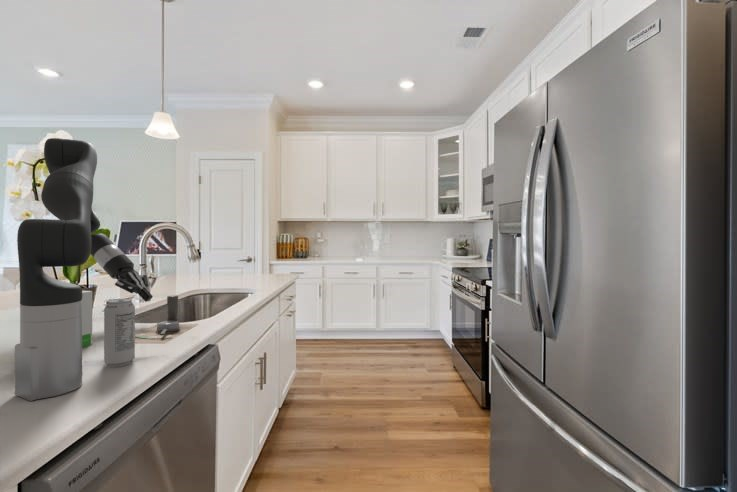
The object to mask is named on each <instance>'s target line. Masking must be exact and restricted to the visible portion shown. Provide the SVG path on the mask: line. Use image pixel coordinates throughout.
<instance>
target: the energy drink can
mask: <svg viewBox="0 0 737 492" xmlns="http://www.w3.org/2000/svg"><path fill="white" fill-rule="evenodd" d="M103 311H104V312H103V315H104V316H103V318H104V319H103V324H104V325H103V326H104V327H103V328H104V329H103V332H104V333H103V334H104V335H103V339H104V340H103V341H104V342H103V362H104V364H106V366H107V367H110V368H117V367H124V366H128V365H130V364H131V363H133V360H134V359H135V357H136V356H135V355H136V354H135V352H136V351H135V350H136V343H135V334H136V326H135V325H136V306H135V305H134V303H133V299H131V298H115V299H110V300H109V299H108V300H107V303H106V304H105V307H104V308H103Z"/></svg>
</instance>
